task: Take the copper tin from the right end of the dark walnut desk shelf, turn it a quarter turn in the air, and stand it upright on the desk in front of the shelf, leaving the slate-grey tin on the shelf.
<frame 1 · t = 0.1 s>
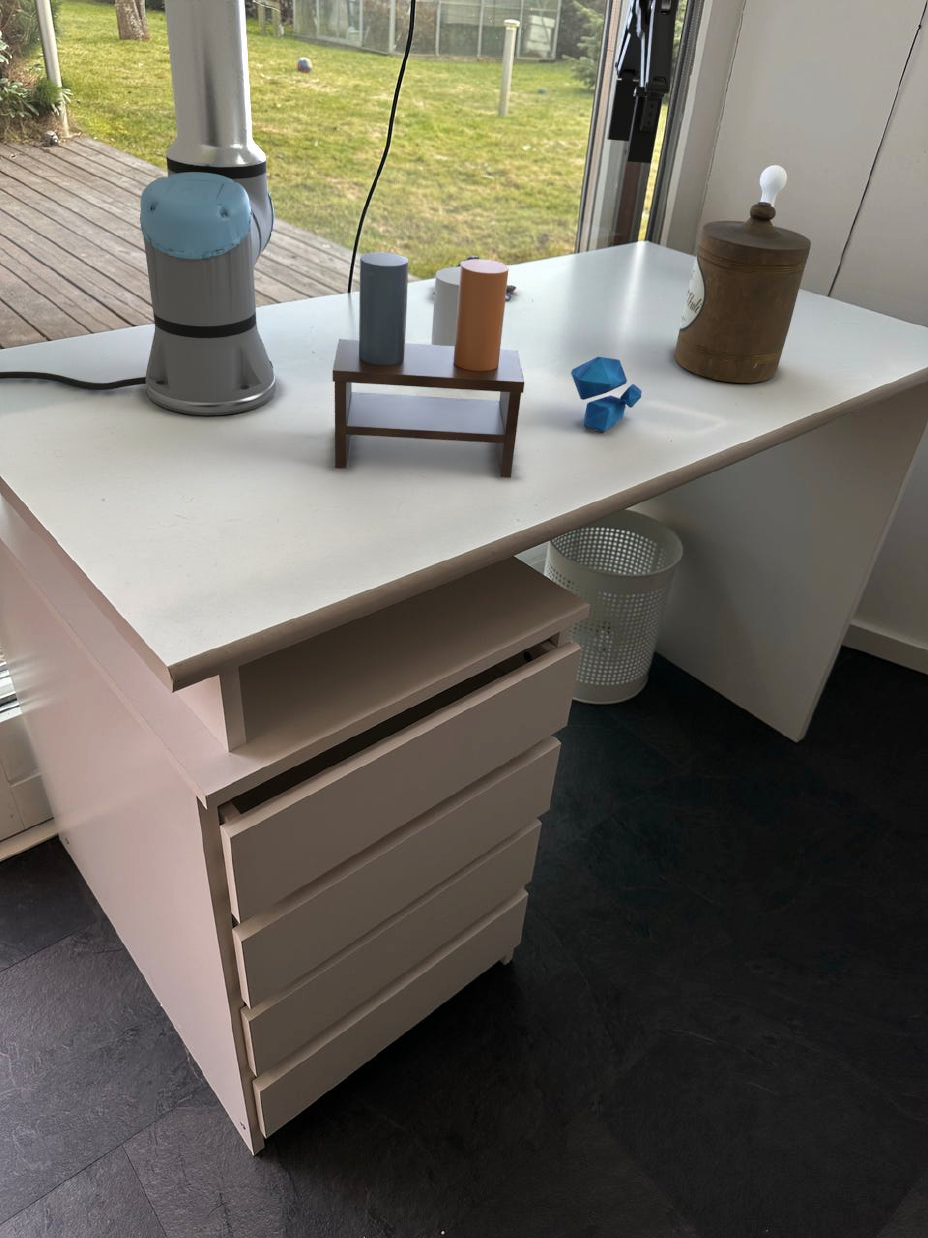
hand: (627, 150, 111), 28 cm above the table, tool pointing down, fingers open, 13 cm apart
white light bulb: (741, 287, 167), on the table
slate tin: (381, 356, 97), point 11 cm above the table, touching desk shelf
crystal: (600, 424, 114), on the table
stuffed animal: (471, 296, 151), on the table
copper tin: (476, 362, 97), point 11 cm above the table, touching desk shelf
wooden container: (723, 365, 134), on the table
cup: (459, 367, 126), on the table
desk shelf: (423, 453, 104), on the table
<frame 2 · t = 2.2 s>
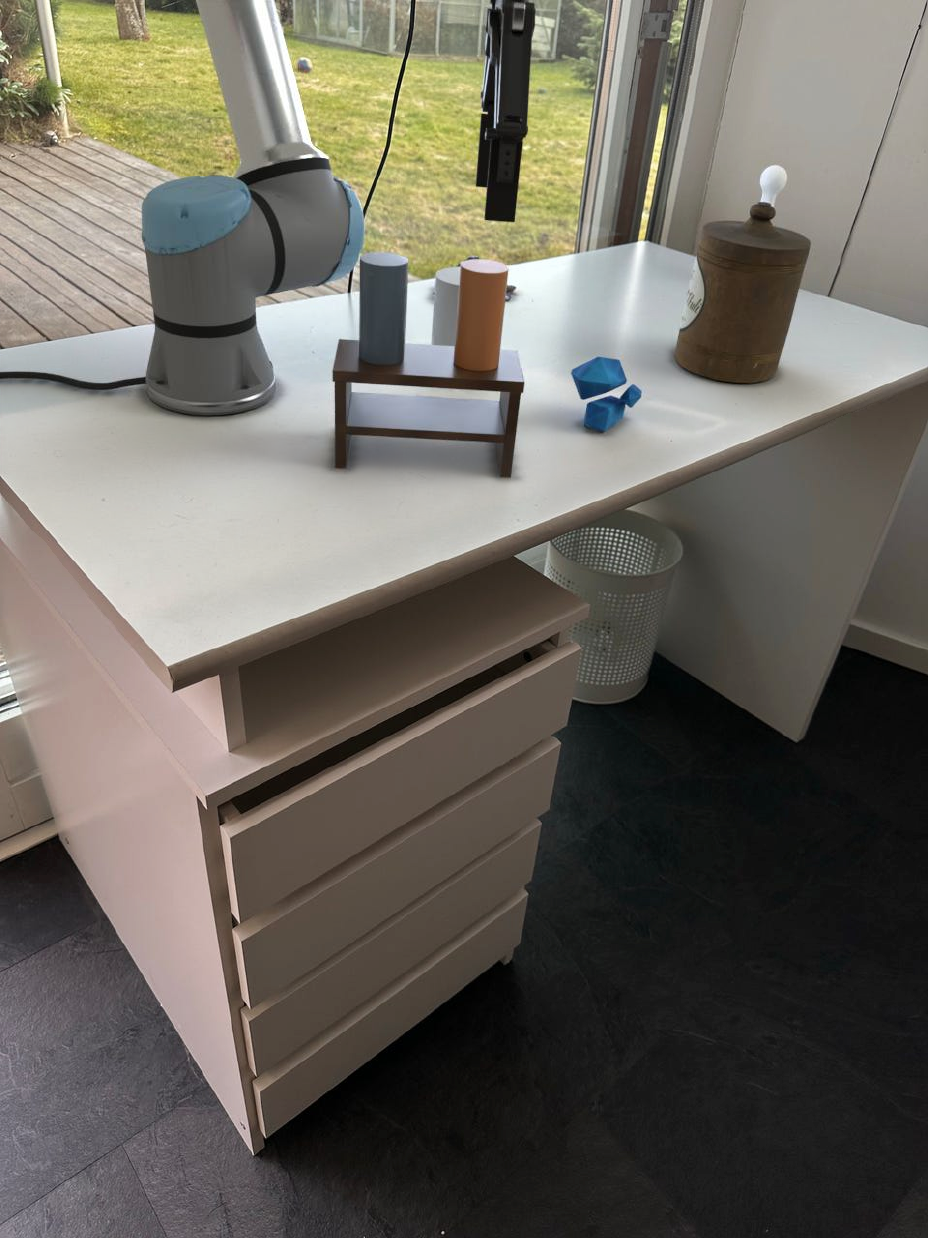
hand: (493, 202, 88), 27 cm above the table, tool pointing down, fingers open, 13 cm apart
nothing on the table moved.
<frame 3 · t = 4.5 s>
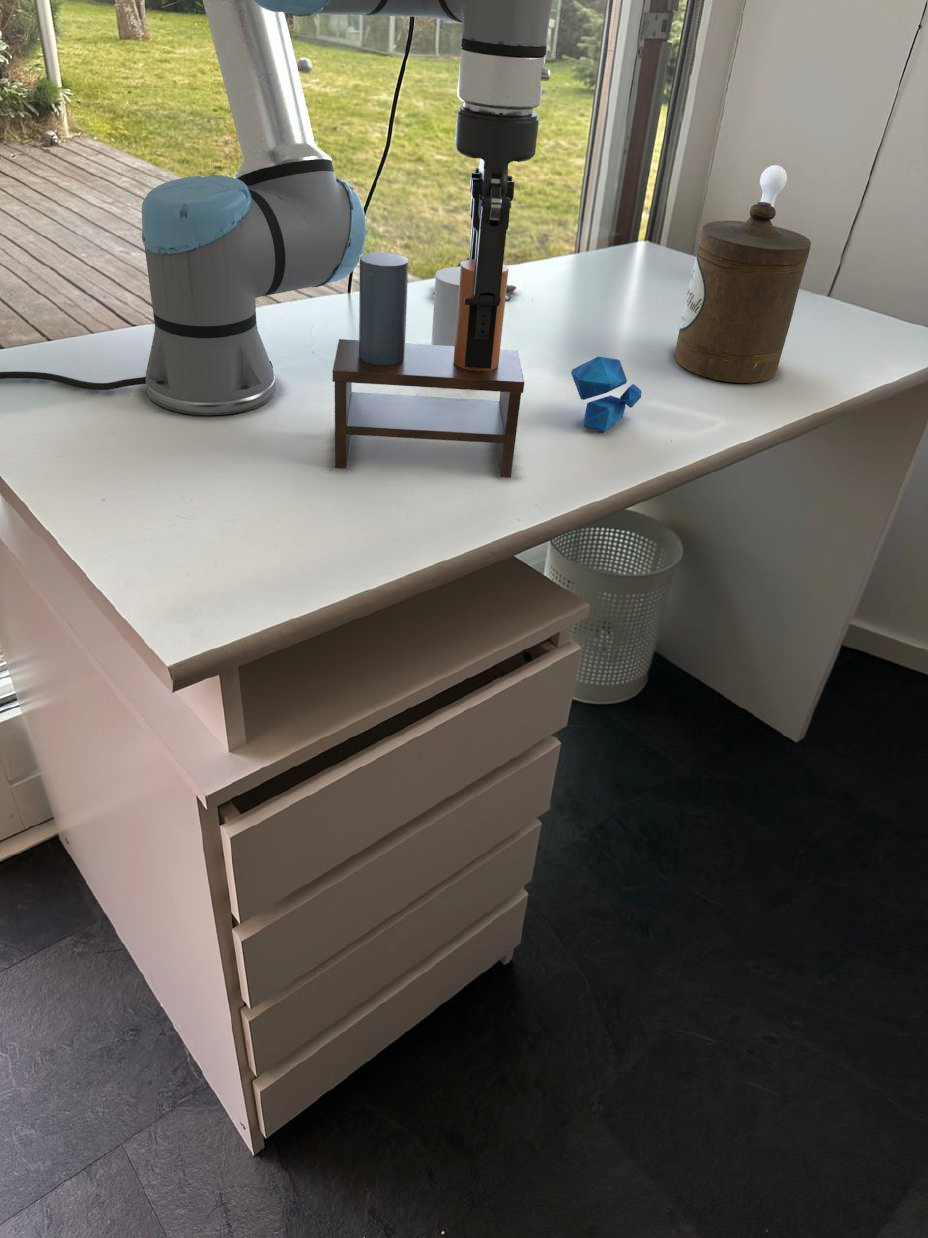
hand: (476, 356, 97), 12 cm above the table, tool pointing down, fingers closed on copper tin, 5 cm apart
copper tin: (476, 362, 97), point 11 cm above the table, touching desk shelf, gripper
everything else where it was.
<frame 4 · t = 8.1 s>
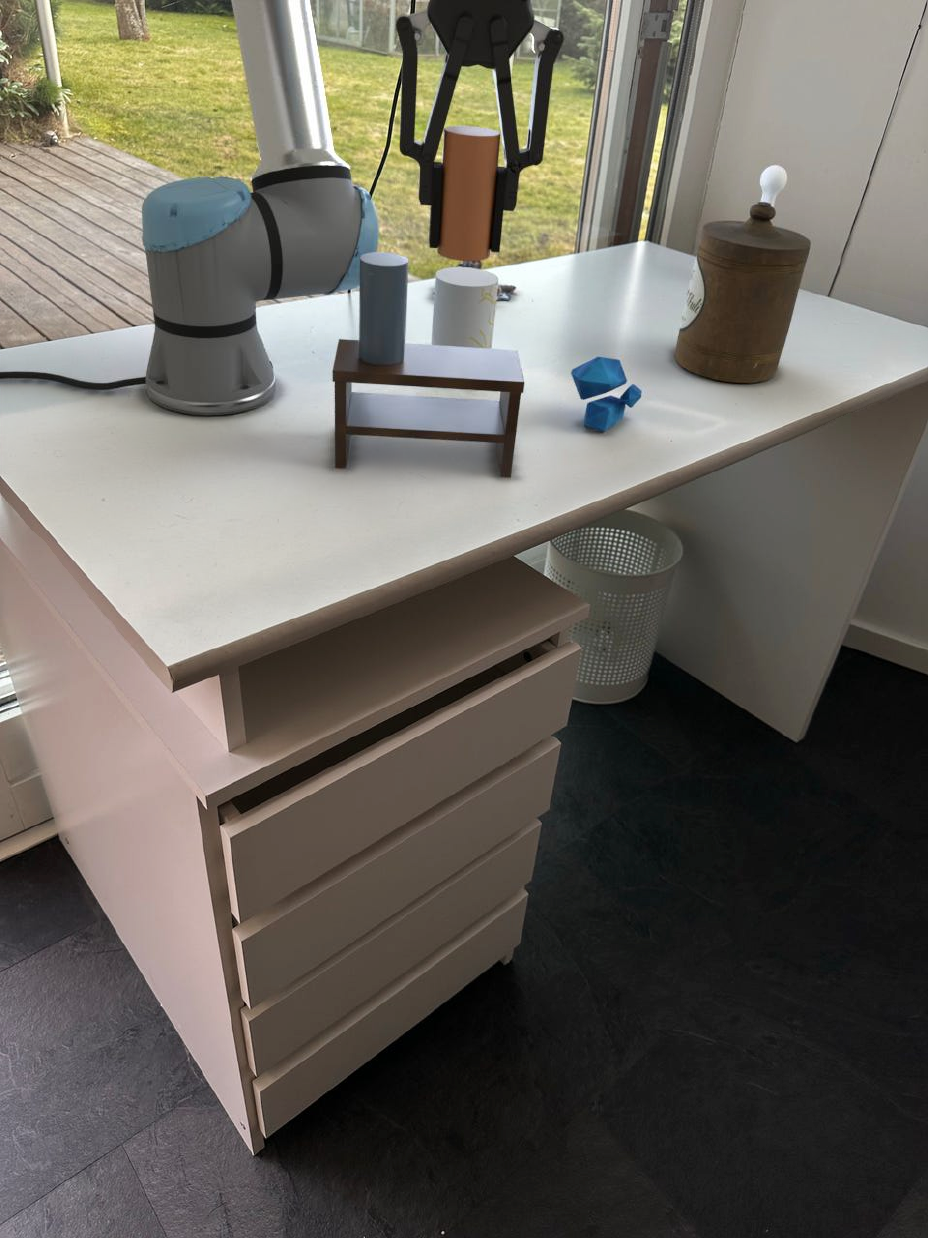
hand: (463, 245, 83), 25 cm above the table, tool pointing down, fingers closed on copper tin, 5 cm apart
copper tin: (463, 253, 83), point 24 cm above the table, touching gripper
everything else where it was.
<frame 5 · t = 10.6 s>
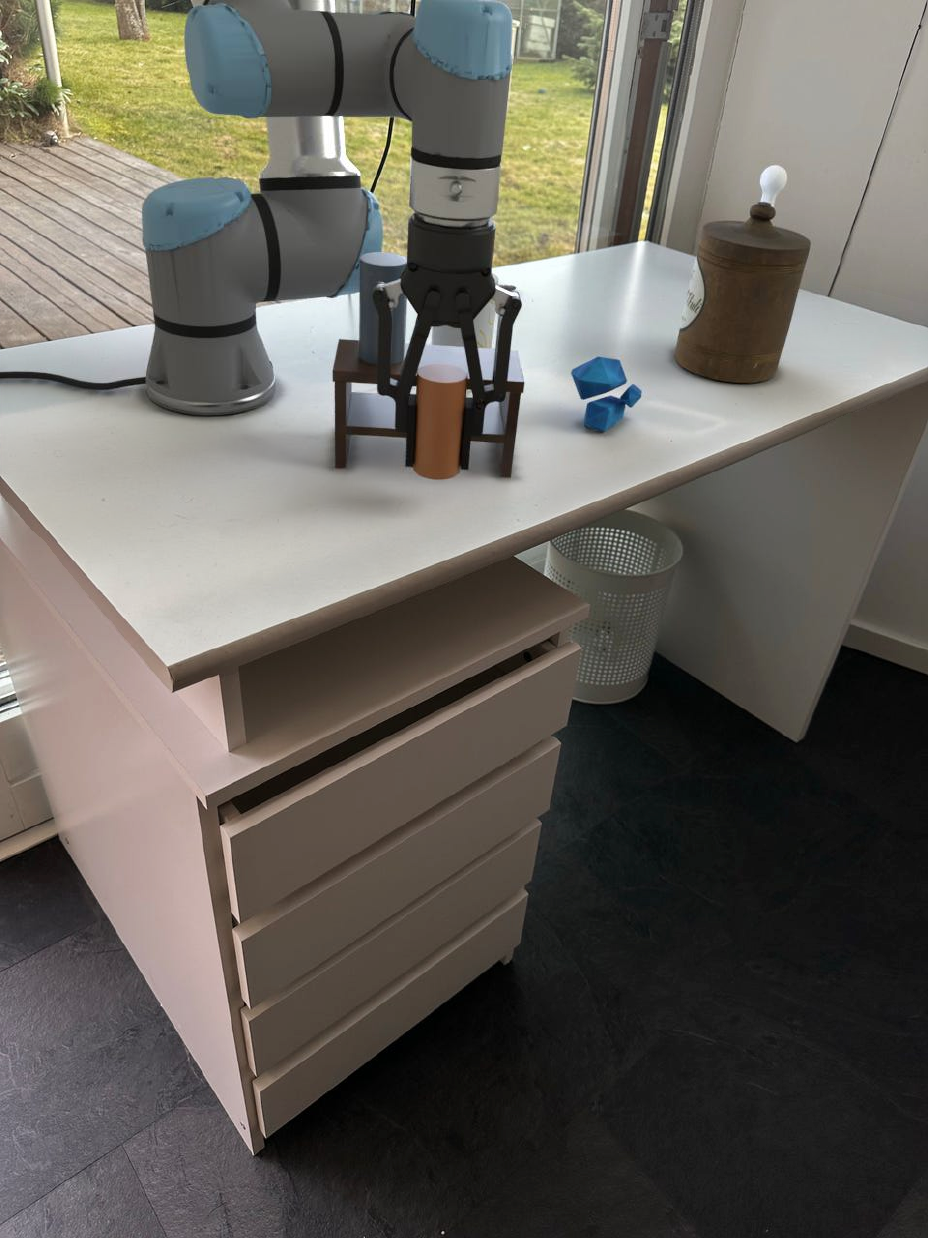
hand: (436, 461, 92), 5 cm above the table, tool pointing down, fingers closed on copper tin, 5 cm apart
copper tin: (436, 468, 92), point 4 cm above the table, touching gripper
everything else where it was.
when the fingers open (1 cm above the table, at t = 12.1 s): copper tin stays where it is, on the table.
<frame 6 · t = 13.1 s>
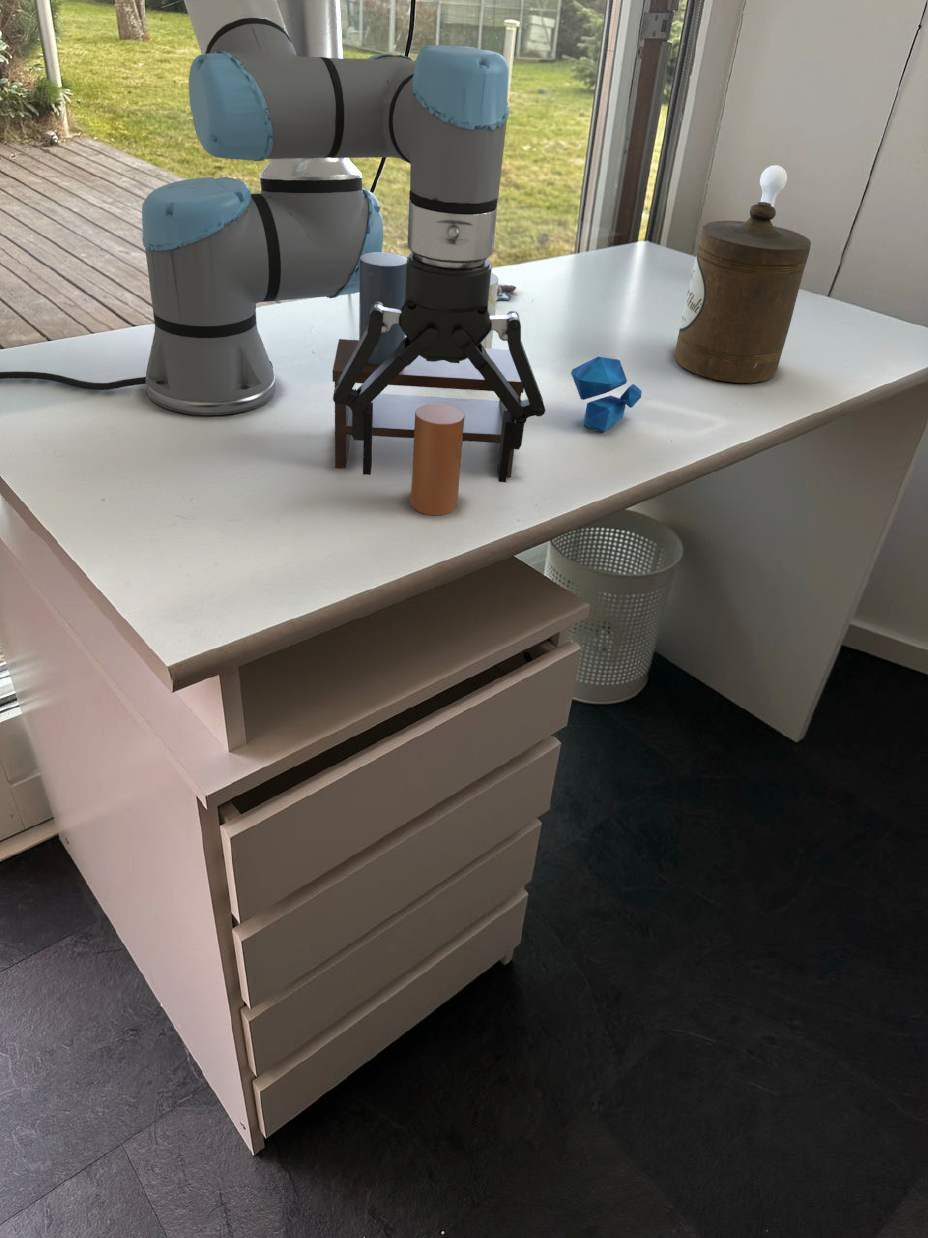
hand: (434, 472, 93), 3 cm above the table, tool pointing down, fingers open, 13 cm apart
copper tin: (433, 503, 95), on the table
everything else where it was.
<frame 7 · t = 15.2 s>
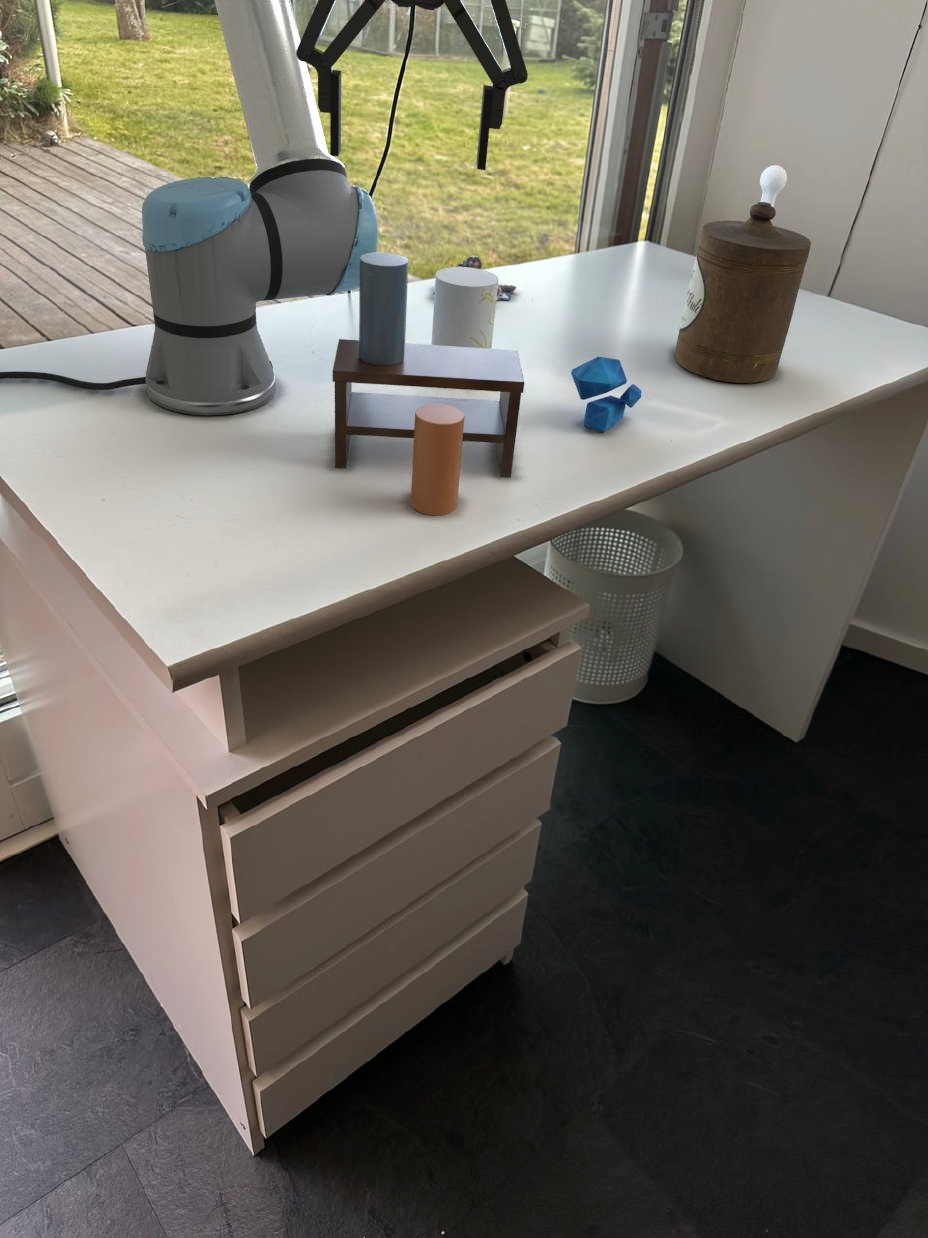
hand: (408, 160, 86), 30 cm above the table, tool pointing down, fingers open, 13 cm apart
nothing on the table moved.
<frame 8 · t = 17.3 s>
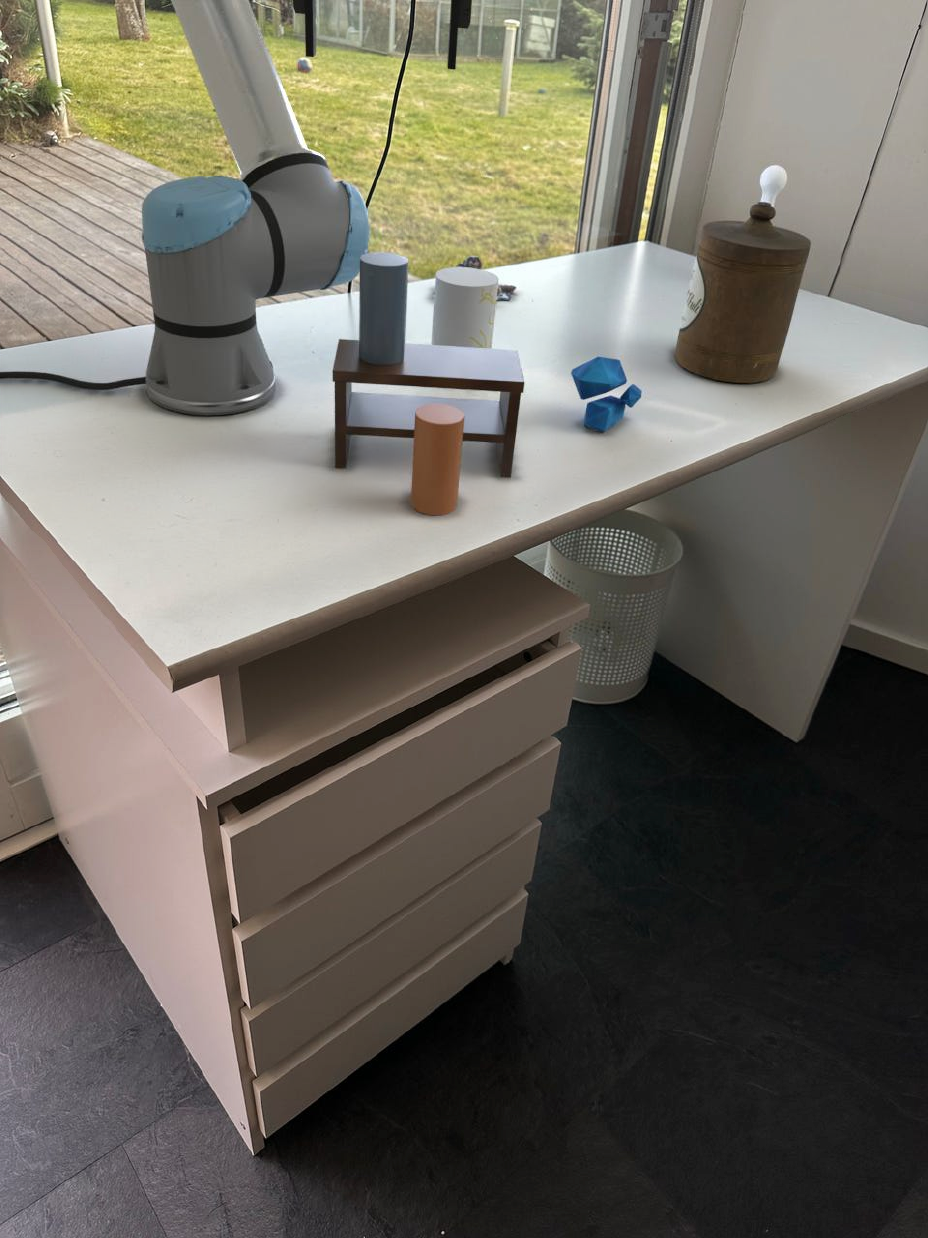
hand: (381, 61, 89), 37 cm above the table, tool pointing down, fingers open, 13 cm apart
nothing on the table moved.
at the end: copper tin inside the target area (0.1 cm from its centre), on the table; copper tin tilted 0°; slate tin moved 0.0 cm from its start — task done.
